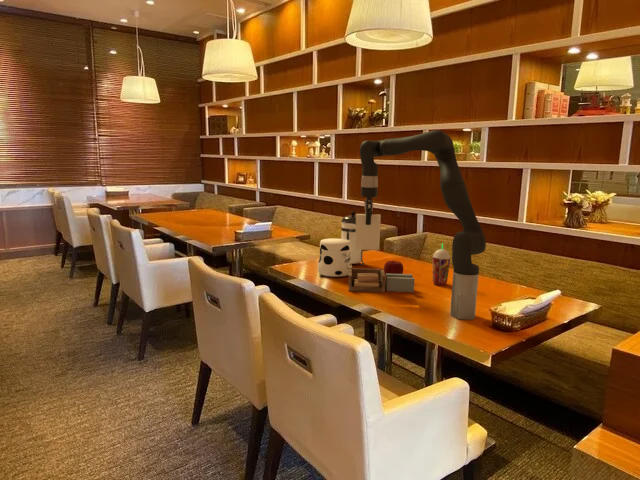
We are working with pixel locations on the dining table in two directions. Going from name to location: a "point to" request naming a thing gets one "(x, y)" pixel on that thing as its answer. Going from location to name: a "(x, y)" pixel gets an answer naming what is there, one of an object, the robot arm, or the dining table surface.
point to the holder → (399, 282)
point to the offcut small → (367, 277)
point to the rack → (381, 287)
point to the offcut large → (365, 284)
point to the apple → (393, 267)
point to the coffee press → (351, 237)
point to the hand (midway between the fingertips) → (368, 224)
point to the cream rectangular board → (367, 232)
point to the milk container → (334, 258)
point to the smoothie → (441, 266)
